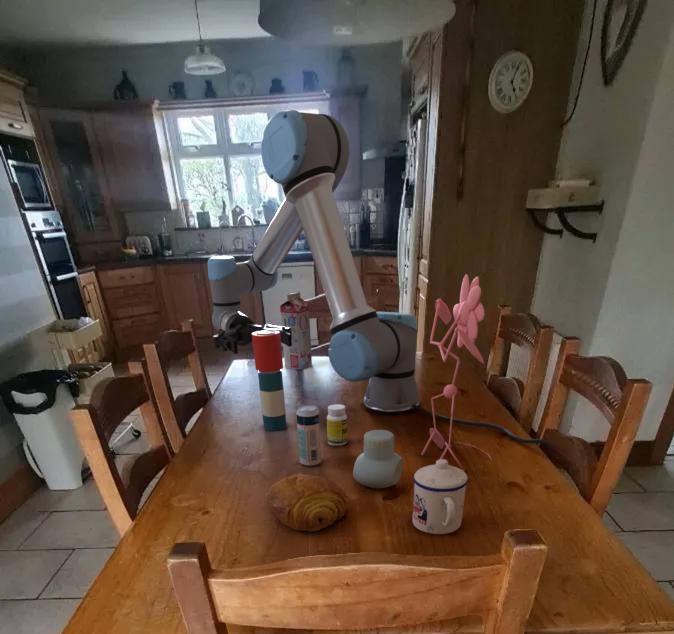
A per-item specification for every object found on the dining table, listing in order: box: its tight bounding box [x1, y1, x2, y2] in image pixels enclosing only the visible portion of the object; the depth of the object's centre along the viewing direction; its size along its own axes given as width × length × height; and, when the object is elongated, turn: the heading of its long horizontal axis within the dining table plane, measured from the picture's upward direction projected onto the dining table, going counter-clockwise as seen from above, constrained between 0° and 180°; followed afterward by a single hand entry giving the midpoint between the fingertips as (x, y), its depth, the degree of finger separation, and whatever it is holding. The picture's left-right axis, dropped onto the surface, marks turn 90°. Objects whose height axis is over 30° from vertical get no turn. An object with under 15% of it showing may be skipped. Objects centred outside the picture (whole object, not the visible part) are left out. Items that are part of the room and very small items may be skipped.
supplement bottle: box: [326, 403, 348, 447], centre depth 127 cm, size 5×5×8 cm
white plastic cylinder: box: [295, 404, 322, 467], centre depth 117 cm, size 5×5×12 cm
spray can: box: [257, 369, 288, 432], centre depth 135 cm, size 6×6×14 cm
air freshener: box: [352, 429, 404, 489], centre depth 108 cm, size 11×8×10 cm
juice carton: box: [279, 291, 313, 370], centre depth 181 cm, size 7×7×22 cm
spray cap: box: [252, 330, 284, 372], centre depth 129 cm, size 7×7×8 cm
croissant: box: [265, 472, 351, 532], centre depth 99 cm, size 14×16×8 cm
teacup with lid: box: [411, 458, 469, 535], centre depth 93 cm, size 12×9×12 cm
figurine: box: [420, 273, 492, 472], centre depth 109 cm, size 15×26×35 cm, turn 9°
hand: (263, 343), depth 130 cm, fingers open, 13 cm apart
